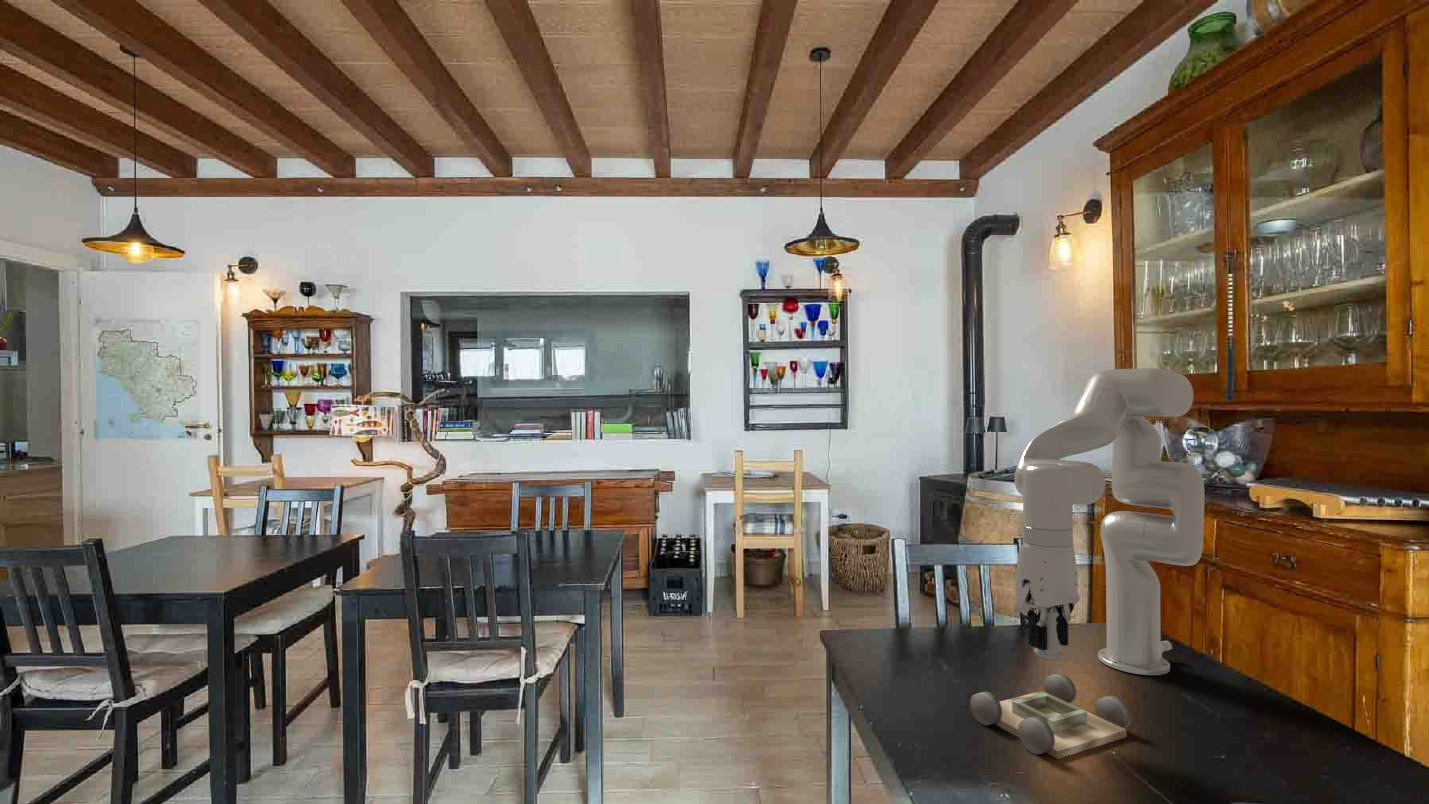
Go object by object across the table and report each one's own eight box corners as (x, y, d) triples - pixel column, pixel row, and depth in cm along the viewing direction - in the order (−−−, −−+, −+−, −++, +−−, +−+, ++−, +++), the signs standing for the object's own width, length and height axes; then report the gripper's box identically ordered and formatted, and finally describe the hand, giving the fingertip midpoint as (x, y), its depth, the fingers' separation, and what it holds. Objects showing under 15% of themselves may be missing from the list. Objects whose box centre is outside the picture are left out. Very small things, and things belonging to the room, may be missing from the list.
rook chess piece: (1067, 660, 108) (1066, 612, 108) (1037, 658, 109) (1037, 610, 109) (1058, 650, 113) (1058, 604, 113) (1030, 648, 113) (1030, 602, 113)
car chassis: (1049, 695, 122) (1049, 668, 122) (1134, 734, 108) (1134, 703, 108) (968, 716, 114) (968, 687, 114) (1048, 762, 99) (1048, 729, 99)
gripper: (1062, 529, 118) (1063, 631, 118) (993, 537, 111) (993, 645, 111) (1102, 537, 111) (1102, 645, 111) (1030, 546, 104) (1031, 661, 104)
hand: (1048, 644), depth 111 cm, fingers closed on rook chess piece, 4 cm apart
